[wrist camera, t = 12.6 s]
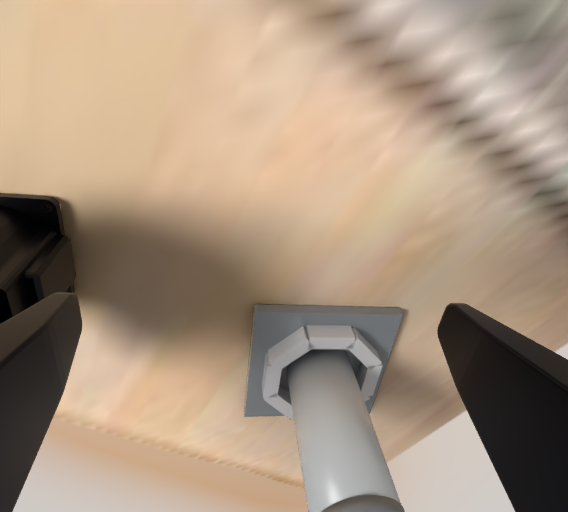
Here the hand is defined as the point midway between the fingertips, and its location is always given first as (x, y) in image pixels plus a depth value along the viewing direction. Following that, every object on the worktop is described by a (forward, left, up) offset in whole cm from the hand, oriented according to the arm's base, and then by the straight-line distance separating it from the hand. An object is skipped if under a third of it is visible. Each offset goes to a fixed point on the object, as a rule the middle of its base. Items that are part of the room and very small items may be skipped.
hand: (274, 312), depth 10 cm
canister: (+6, -15, -12) cm, 20 cm away
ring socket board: (+6, -15, -13) cm, 20 cm away
